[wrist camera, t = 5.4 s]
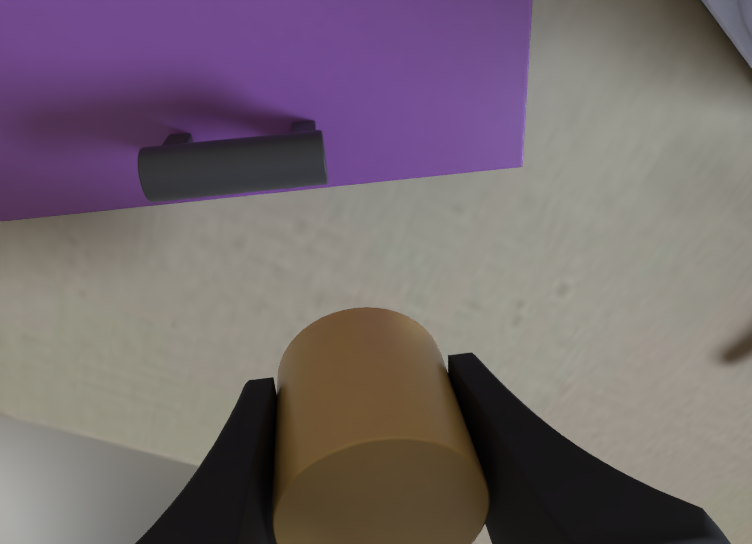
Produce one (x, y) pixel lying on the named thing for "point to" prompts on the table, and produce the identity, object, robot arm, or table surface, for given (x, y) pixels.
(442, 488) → the cylinder
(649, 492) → the robot arm
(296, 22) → the cover
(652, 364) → the table surface
